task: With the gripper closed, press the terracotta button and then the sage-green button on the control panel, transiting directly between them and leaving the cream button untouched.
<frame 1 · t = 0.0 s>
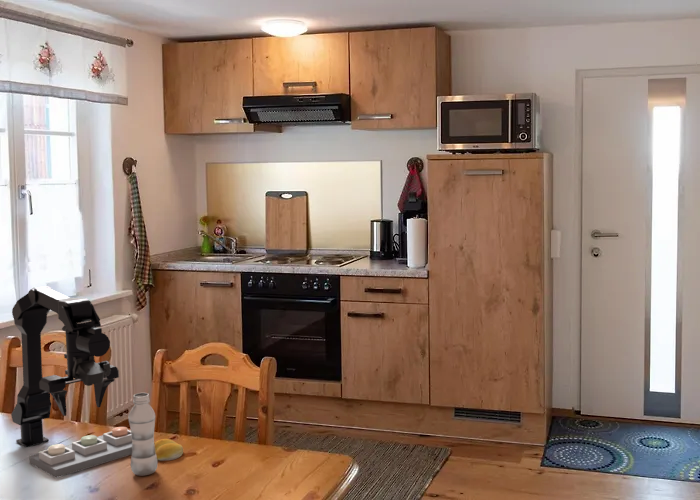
hand: (81, 411, 208), 15 cm above the table, fingers open, 9 cm apart
cream button: (56, 450, 210), point 4 cm above the table, slide at 0.0 cm
plastic bottle: (144, 474, 205), on the table
panel: (89, 456, 217), on the table
bread roll: (166, 456, 218), on the table
terracotta button: (119, 432, 223), point 4 cm above the table, slide at 0.0 cm
sage button: (89, 440, 217), point 4 cm above the table, slide at 0.0 cm
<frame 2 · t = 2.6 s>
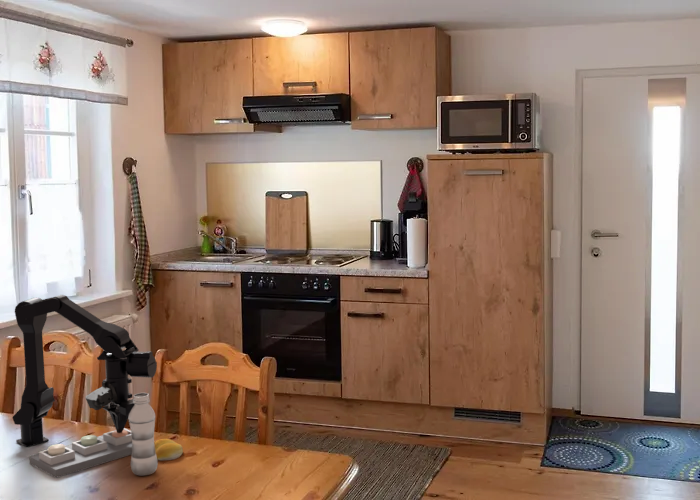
hand: (119, 432, 223), 4 cm above the table, fingers closed, pressing on terracotta button
terracotta button: (120, 435, 224), point 3 cm above the table, slide at -0.9 cm, touching gripper
everything else where it was.
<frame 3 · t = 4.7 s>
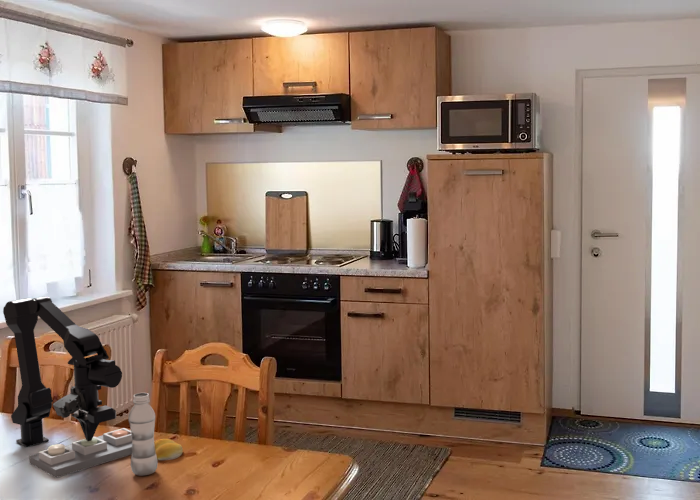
hand: (89, 440, 217), 4 cm above the table, fingers closed, pressing on sage button
terracotta button: (120, 435, 224), point 3 cm above the table, slide at -1.0 cm
sage button: (89, 443, 217), point 3 cm above the table, slide at -0.8 cm, touching gripper
everything else where it was.
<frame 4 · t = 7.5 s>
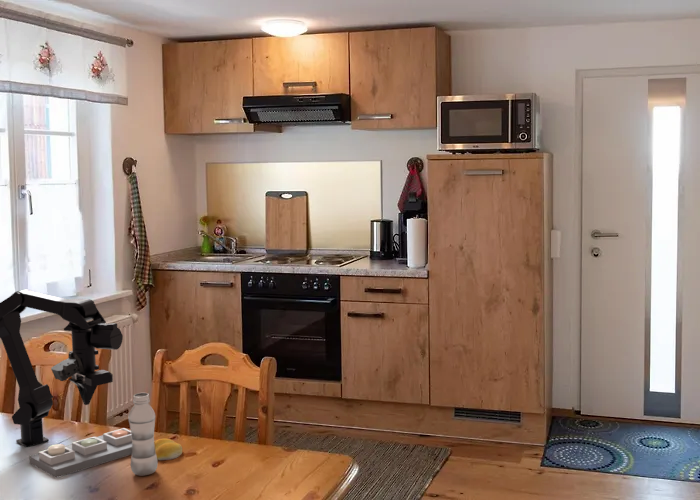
hand: (86, 404, 222), 12 cm above the table, fingers closed
sage button: (89, 444, 217), point 3 cm above the table, slide at -1.0 cm
everything else where it was.
at the end: terracotta button slide at -1.0 cm; sage button slide at -1.0 cm; cream button slide at 0.0 cm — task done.
